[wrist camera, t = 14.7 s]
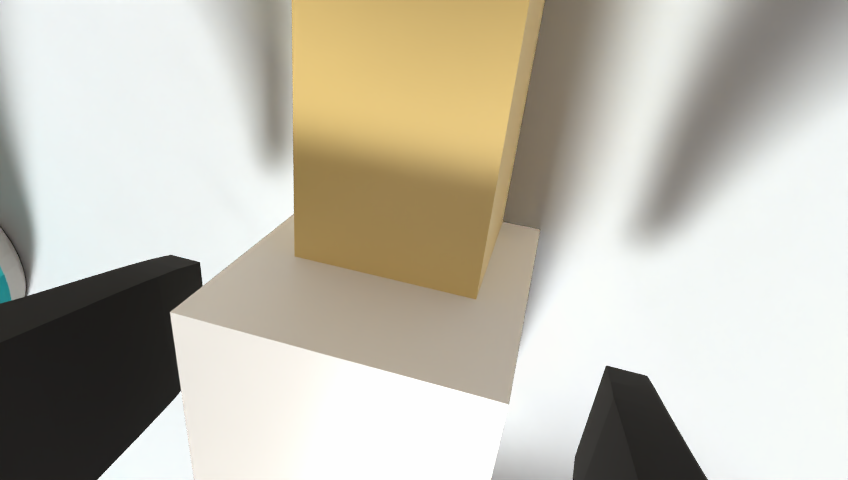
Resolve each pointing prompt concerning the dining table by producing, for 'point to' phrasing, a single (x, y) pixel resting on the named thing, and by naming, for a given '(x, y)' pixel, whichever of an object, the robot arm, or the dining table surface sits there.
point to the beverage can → (10, 271)
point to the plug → (376, 258)
